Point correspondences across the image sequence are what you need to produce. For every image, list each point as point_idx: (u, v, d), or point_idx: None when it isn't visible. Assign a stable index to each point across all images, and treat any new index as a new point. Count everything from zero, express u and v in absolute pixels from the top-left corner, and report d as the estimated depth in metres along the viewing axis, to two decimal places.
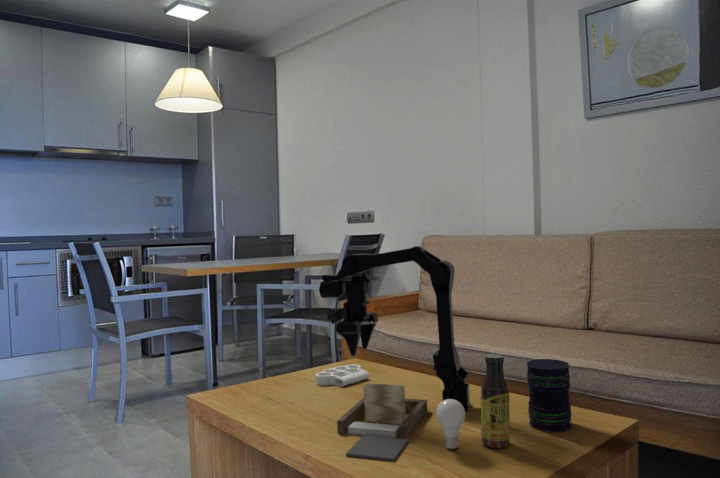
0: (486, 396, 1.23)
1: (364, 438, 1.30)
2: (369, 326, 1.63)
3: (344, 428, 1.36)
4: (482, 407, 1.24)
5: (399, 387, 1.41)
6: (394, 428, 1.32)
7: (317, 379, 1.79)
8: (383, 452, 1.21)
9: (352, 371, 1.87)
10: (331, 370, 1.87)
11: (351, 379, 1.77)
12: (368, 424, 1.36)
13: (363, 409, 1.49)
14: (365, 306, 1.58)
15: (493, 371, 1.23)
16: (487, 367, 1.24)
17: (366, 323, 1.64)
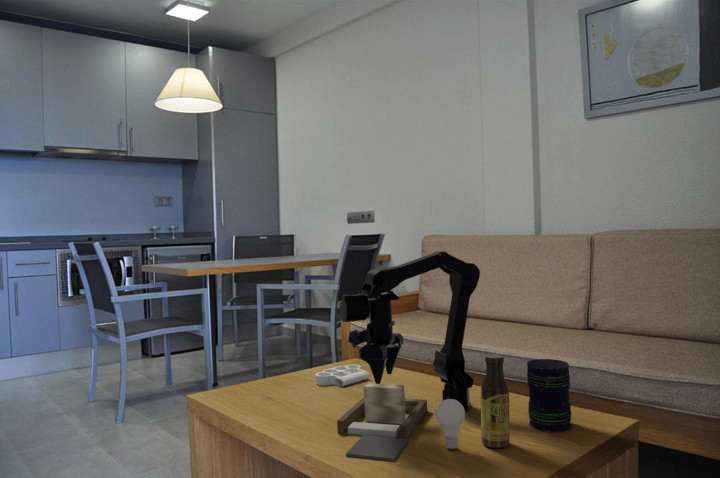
0: (486, 396, 1.23)
1: (364, 438, 1.30)
2: (394, 349, 1.47)
3: (344, 428, 1.36)
4: (482, 407, 1.24)
5: (399, 387, 1.41)
6: (394, 428, 1.32)
7: (317, 379, 1.79)
8: (383, 452, 1.21)
9: (352, 371, 1.87)
10: (331, 370, 1.87)
11: (350, 379, 1.78)
12: (368, 424, 1.36)
13: (363, 409, 1.49)
14: (391, 328, 1.41)
15: (493, 371, 1.23)
16: (487, 367, 1.24)
17: (391, 346, 1.48)
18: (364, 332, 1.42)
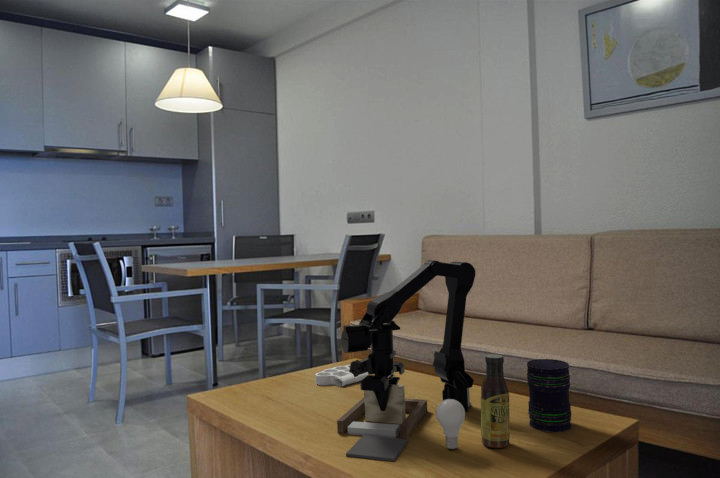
0: (486, 396, 1.23)
1: (364, 438, 1.30)
2: (392, 381, 1.44)
3: (344, 428, 1.36)
4: (482, 407, 1.24)
5: (399, 387, 1.41)
6: (394, 428, 1.33)
7: (317, 379, 1.80)
8: (383, 452, 1.21)
9: None
10: (331, 370, 1.87)
11: (350, 379, 1.78)
12: (368, 424, 1.36)
13: (363, 409, 1.49)
14: (392, 358, 1.42)
15: (493, 371, 1.23)
16: (487, 367, 1.24)
17: (388, 378, 1.45)
18: (365, 362, 1.42)
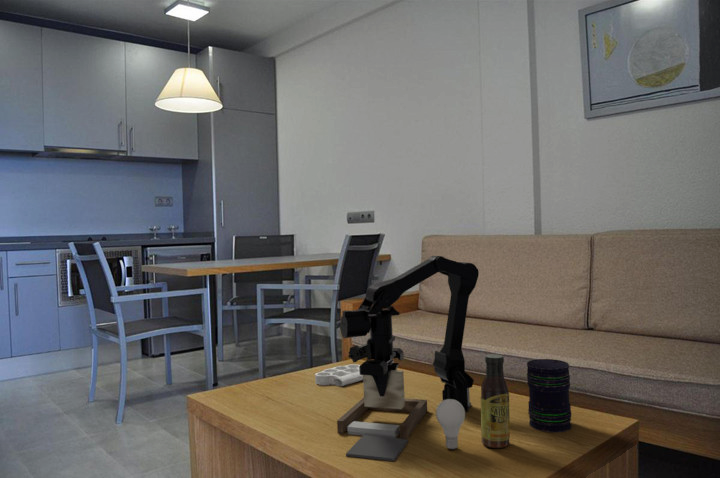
0: (486, 396, 1.23)
1: (364, 438, 1.30)
2: (391, 367, 1.44)
3: (344, 428, 1.36)
4: (482, 407, 1.24)
5: (398, 372, 1.41)
6: (394, 428, 1.32)
7: (317, 379, 1.80)
8: (383, 452, 1.21)
9: (352, 371, 1.87)
10: (331, 370, 1.87)
11: (350, 379, 1.78)
12: (368, 424, 1.36)
13: (363, 409, 1.49)
14: (391, 343, 1.41)
15: (493, 371, 1.23)
16: (487, 367, 1.24)
17: (388, 363, 1.45)
18: (364, 348, 1.42)
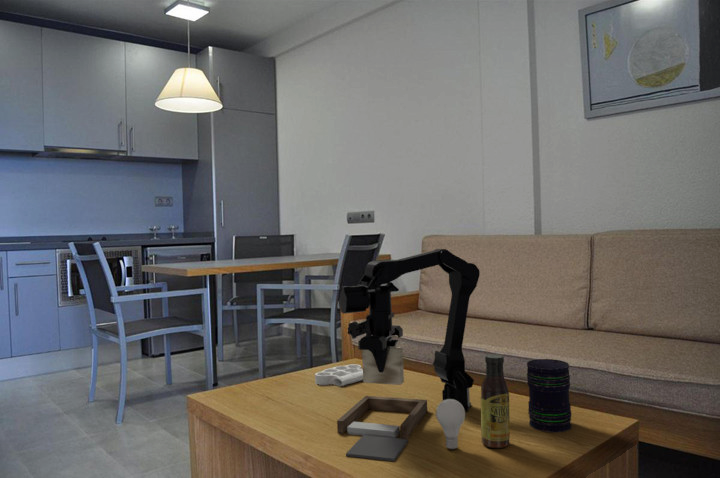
0: (486, 396, 1.23)
1: (364, 438, 1.30)
2: (390, 343, 1.44)
3: (344, 428, 1.36)
4: (482, 407, 1.24)
5: (397, 348, 1.41)
6: (393, 429, 1.32)
7: (316, 378, 1.80)
8: (383, 452, 1.21)
9: (352, 371, 1.87)
10: (331, 370, 1.87)
11: (350, 379, 1.78)
12: (368, 424, 1.36)
13: (363, 409, 1.49)
14: (390, 319, 1.41)
15: (493, 371, 1.23)
16: (487, 367, 1.24)
17: (387, 340, 1.45)
18: (363, 324, 1.42)
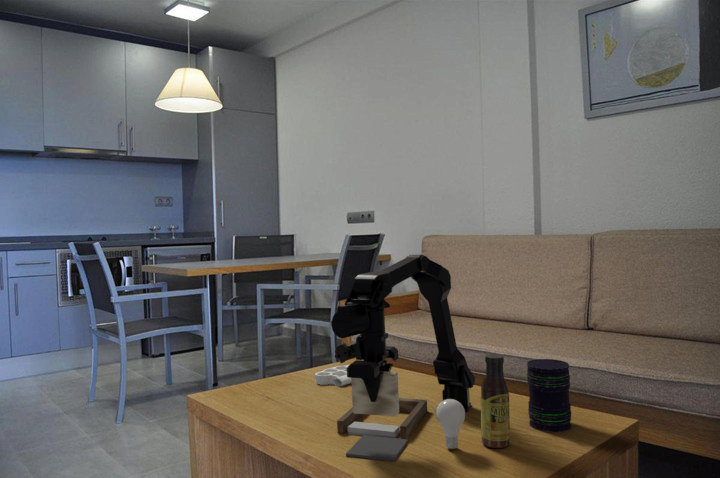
0: (486, 396, 1.23)
1: (364, 438, 1.30)
2: (384, 368, 1.26)
3: (344, 428, 1.36)
4: (482, 407, 1.24)
5: (392, 374, 1.23)
6: (393, 429, 1.32)
7: (316, 378, 1.80)
8: (383, 452, 1.21)
9: None
10: (331, 370, 1.87)
11: (349, 378, 1.78)
12: (368, 424, 1.36)
13: None
14: (384, 341, 1.23)
15: (493, 371, 1.23)
16: (487, 367, 1.24)
17: (380, 364, 1.27)
18: (353, 346, 1.24)
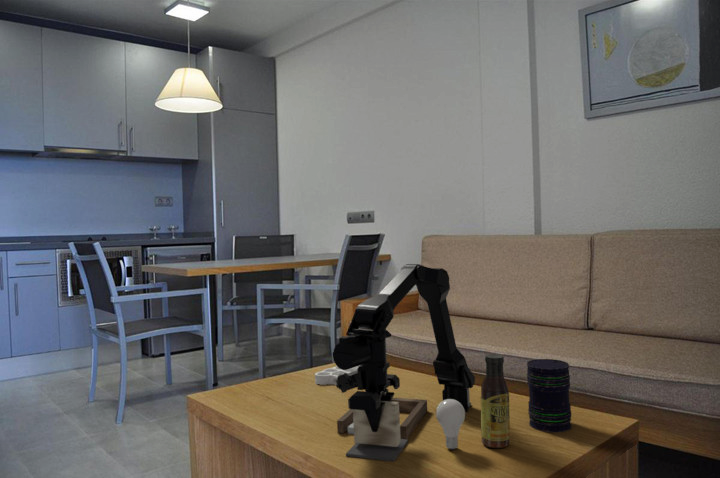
0: (486, 396, 1.23)
1: None
2: (385, 397, 1.26)
3: (344, 428, 1.36)
4: (482, 407, 1.24)
5: (393, 404, 1.23)
6: None
7: (316, 378, 1.80)
8: (383, 452, 1.21)
9: (352, 371, 1.87)
10: (331, 370, 1.87)
11: None
12: None
13: None
14: (385, 371, 1.23)
15: (493, 371, 1.23)
16: (487, 367, 1.24)
17: (381, 393, 1.27)
18: (355, 376, 1.24)
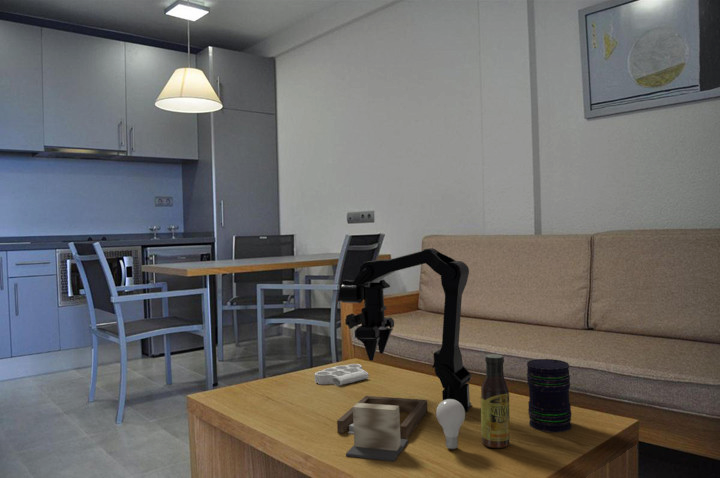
0: (486, 396, 1.23)
1: None
2: (386, 331, 1.67)
3: (344, 428, 1.36)
4: (482, 407, 1.24)
5: (393, 408, 1.23)
6: None
7: (316, 378, 1.81)
8: (383, 452, 1.21)
9: (352, 371, 1.87)
10: (331, 369, 1.88)
11: (348, 378, 1.78)
12: None
13: None
14: (383, 312, 1.61)
15: (494, 371, 1.23)
16: (487, 367, 1.24)
17: (383, 328, 1.67)
18: (359, 315, 1.62)
